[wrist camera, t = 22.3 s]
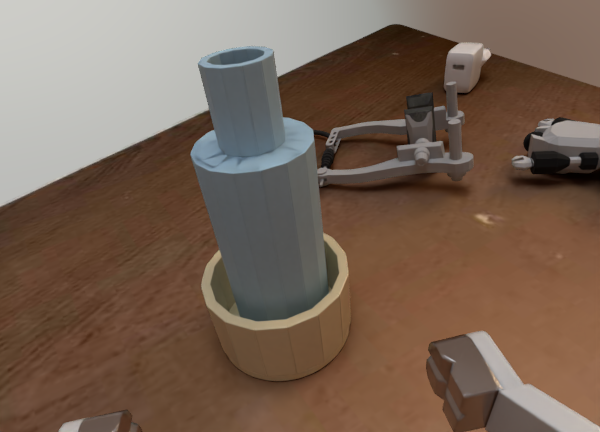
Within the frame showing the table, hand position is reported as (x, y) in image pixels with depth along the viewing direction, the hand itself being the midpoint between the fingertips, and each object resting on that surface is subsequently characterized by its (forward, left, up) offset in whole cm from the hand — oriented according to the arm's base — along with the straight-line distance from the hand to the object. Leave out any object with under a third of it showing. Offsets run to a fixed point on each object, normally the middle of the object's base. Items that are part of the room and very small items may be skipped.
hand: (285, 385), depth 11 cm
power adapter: (+25, +55, -12) cm, 61 cm away
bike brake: (+7, +33, -12) cm, 36 cm away
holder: (-2, +12, -12) cm, 17 cm away
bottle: (-2, +12, -11) cm, 16 cm away
